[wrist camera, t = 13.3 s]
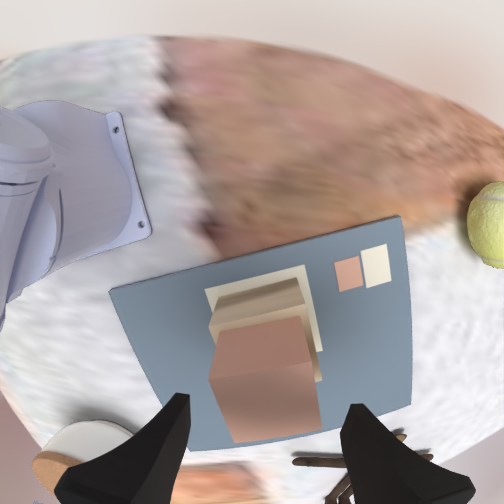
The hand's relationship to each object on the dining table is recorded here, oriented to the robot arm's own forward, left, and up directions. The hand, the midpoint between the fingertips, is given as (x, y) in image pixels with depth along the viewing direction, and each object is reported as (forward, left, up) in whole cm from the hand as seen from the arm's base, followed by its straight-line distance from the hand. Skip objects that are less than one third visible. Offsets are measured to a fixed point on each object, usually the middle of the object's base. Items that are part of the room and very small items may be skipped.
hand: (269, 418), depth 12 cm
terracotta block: (0, 0, -5) cm, 5 cm away
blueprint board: (+4, 0, -10) cm, 11 cm away
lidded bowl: (+12, -20, -11) cm, 26 cm away
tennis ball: (-3, +19, -11) cm, 22 cm away
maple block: (0, 0, -10) cm, 10 cm away
